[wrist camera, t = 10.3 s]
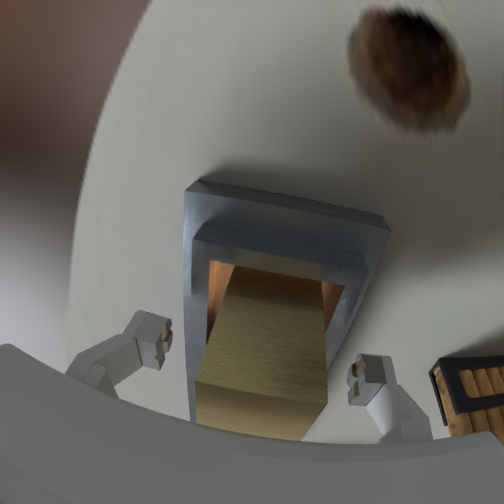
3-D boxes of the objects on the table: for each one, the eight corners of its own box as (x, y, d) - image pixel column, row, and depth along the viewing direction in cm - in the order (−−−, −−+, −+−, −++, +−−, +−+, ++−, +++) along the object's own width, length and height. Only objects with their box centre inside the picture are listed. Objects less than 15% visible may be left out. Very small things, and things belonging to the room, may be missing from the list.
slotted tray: (195, 180, 13) (171, 203, 11) (382, 216, 13) (400, 247, 10) (195, 431, 28) (189, 453, 25) (274, 446, 27) (271, 468, 25)
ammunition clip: (518, 354, 16) (556, 458, 6) (507, 367, 17) (541, 469, 7) (438, 357, 17) (471, 503, 7) (427, 372, 18) (453, 511, 8)
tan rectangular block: (235, 262, 13) (194, 380, 8) (321, 278, 13) (327, 403, 8) (228, 323, 15) (197, 429, 10) (300, 336, 15) (294, 447, 10)
